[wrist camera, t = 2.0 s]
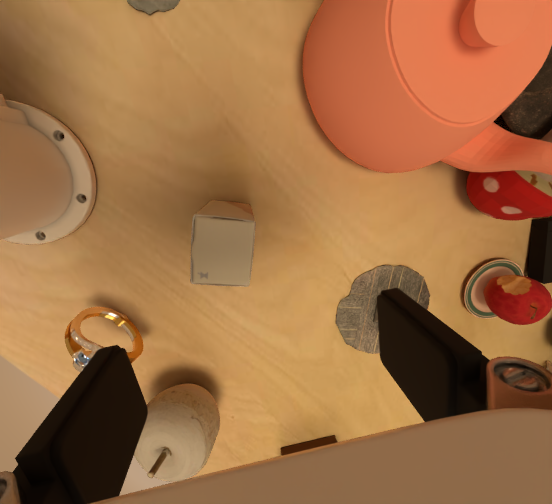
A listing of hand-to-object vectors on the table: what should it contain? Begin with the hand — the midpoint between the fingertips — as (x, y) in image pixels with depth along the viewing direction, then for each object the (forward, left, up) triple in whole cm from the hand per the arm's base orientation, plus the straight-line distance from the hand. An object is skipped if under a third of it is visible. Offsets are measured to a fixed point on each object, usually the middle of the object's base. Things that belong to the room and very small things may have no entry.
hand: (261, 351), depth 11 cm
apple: (+13, +29, -21) cm, 38 cm away
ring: (+7, -15, -21) cm, 27 cm away
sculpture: (+13, +15, -21) cm, 29 cm away
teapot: (-11, +16, -21) cm, 29 cm away
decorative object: (+19, -11, -21) cm, 31 cm away
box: (-1, -2, -21) cm, 21 cm away
